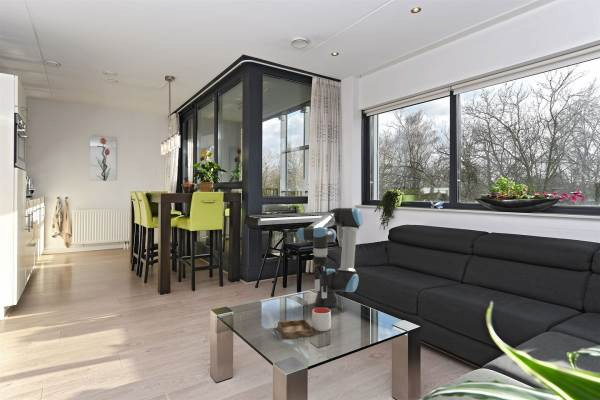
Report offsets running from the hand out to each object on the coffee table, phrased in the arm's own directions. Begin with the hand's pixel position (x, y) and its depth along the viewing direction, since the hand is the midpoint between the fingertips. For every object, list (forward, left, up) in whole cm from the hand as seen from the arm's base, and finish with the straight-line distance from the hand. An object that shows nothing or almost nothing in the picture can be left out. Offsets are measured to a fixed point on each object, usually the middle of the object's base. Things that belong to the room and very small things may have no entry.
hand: (320, 294), depth 193 cm
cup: (0, 0, -19) cm, 19 cm away
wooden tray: (+15, 0, -19) cm, 24 cm away
